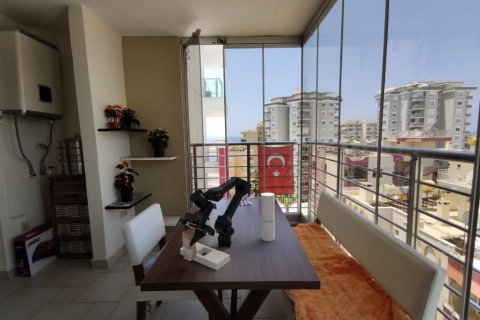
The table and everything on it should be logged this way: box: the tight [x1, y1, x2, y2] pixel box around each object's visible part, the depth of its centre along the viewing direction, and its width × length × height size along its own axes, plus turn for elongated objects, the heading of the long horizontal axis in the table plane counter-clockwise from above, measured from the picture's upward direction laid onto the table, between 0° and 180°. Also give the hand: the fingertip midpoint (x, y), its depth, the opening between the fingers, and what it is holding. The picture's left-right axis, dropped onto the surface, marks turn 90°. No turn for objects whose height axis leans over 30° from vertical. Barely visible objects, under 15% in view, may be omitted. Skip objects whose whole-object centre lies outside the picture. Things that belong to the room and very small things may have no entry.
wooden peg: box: [181, 229, 197, 262], centre depth 102 cm, size 4×4×12 cm
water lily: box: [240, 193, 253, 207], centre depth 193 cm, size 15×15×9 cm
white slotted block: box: [179, 241, 231, 271], centre depth 110 cm, size 9×24×3 cm, turn 53°
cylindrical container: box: [260, 192, 276, 242], centre depth 127 cm, size 7×7×25 cm
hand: (187, 244), depth 101 cm, fingers closed on wooden peg, 4 cm apart
